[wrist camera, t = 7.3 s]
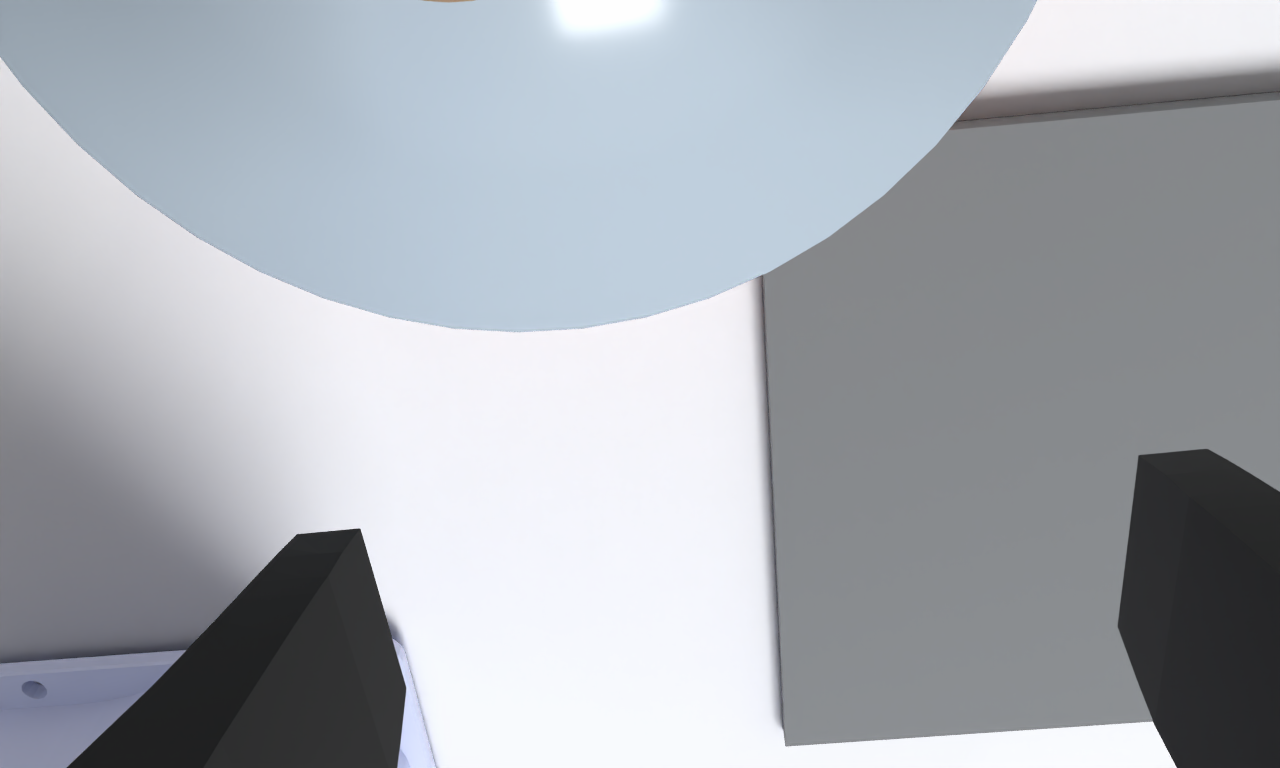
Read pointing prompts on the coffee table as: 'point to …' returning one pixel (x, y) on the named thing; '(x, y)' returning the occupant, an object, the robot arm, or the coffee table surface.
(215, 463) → the coffee table surface
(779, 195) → the lid
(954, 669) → the mat
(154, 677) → the robot arm
